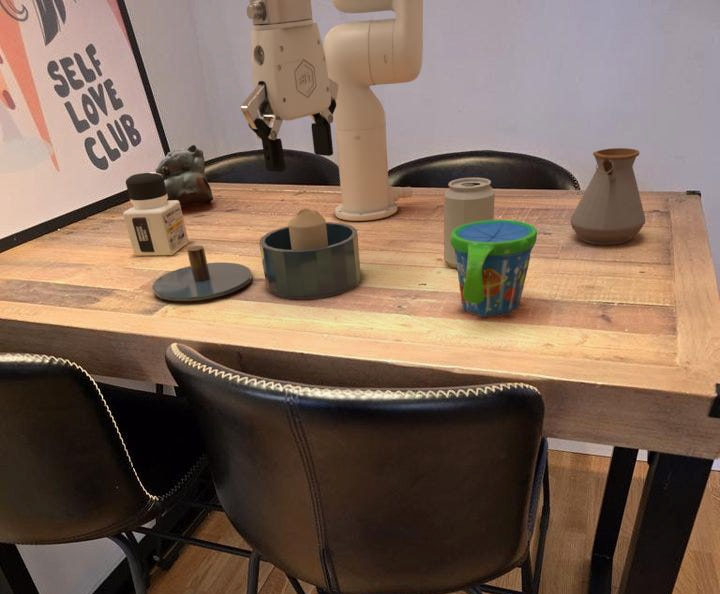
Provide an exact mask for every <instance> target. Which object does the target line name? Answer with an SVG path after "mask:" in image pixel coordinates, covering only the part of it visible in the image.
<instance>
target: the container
mask: <svg viewBox="0 0 720 594" xmlns="http://www.w3.org/2000/svg"><path fill="white" fill-rule="evenodd" d="M125 185H126V190H127V192H128V196H129V200H130V203H131V205H133V206H132V207H129V208H128V209H126V210H125V211H123V213H122V216H123V219H124V223H125V226H126V230H127V234H128V237H129V241H130V245H131V248H132V251H133V255H134V256H136V257H138V256H141V257H142V256H143V257H145V256H172V255H174V254H175V253H177V252H178V251H179V250H181V249H182V248H183V247H185V246H186V245H187V244H189V237H188V232H187V229H186V224H185V219H184V216H183V211H182V206H180V202H179V201H178V200H171V201H167V199H168V195H167V191H166V187H165V182H164V178H163V176H162V175H161V174H158V173H156V171H147V172H140V173H135V174H132V175H130V176H129V177H127V178H126V180H125Z"/></svg>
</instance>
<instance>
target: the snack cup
mask: <svg viewBox="0 0 720 594" xmlns="http://www.w3.org/2000/svg"><path fill="white" fill-rule="evenodd" d="M537 238H538V231H537V228H536V227H535V226H534V225H532V224H530V223H527V222H526V221H525V222H524V221H520V220H514V219H513V220H512V219H494V220H484V221H477V222H471V223H467V224H464V225H461V226H459V227H457V228H455V229H454V230H453V231H452V236H451V238H450V242H451V244H452V247H453V248H454V250H455V255H456V263H457V268H456V270H457V278H458V285H459V292H460V300H461V304H462V309H463V310H464V311H467V312H468V313H470V314H472V315H475V316H479V317H482V318H484V317H499V316H504V315H511V314H512V313H513V312H514V311H516V310H517V309H518V308H519V305H520V302H521V299H522V297H523V290H524V287H525V283H526V278H527V273H528V270H529V266H530V265H529V264H530V259H531V253H532V250H533V248H534V247H535V245H536V242H537Z"/></svg>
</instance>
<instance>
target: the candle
mask: <svg viewBox="0 0 720 594" xmlns="http://www.w3.org/2000/svg"><path fill="white" fill-rule="evenodd" d="M326 222H327V220H326V219H325V217H324V216H323V215H321V213H320V212H319V211H318V210H317V209H316V210H312V209H310V208H303V209H300V210H299V211H298V212H297V214H295V215H294V216H292V218H291V219H289V221H288V225H287V226H289V232H290V240H291V247H292V250H305V249H315V248H321V247H326V246H328V239H327V229H326Z"/></svg>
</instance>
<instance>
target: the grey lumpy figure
mask: <svg viewBox="0 0 720 594" xmlns="http://www.w3.org/2000/svg"><path fill="white" fill-rule="evenodd" d="M205 167H206V166H205V157H204V151H203V150H202V149H200V148H197V146H196V145H195V144H192V145H190V146H188V148H187V149H186V148H178V149H173V150H171V151H168V152H167V153H166V155H165V157H164V158H162V159H161V160H160V162H159V163H158V166H157V167H156V168H155V173H158V174H161V175H162V176H163V178H164V182H165V187H166V191H167V195H168V199H167V201H171V200H178V201H179V202H180V206H181V207H186V206H192V205H211V204H212V201H214V196H213V192H212V188H211V186H210V183H209V182H208V180H207V177H206V172H205V171H206V169H205Z"/></svg>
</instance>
